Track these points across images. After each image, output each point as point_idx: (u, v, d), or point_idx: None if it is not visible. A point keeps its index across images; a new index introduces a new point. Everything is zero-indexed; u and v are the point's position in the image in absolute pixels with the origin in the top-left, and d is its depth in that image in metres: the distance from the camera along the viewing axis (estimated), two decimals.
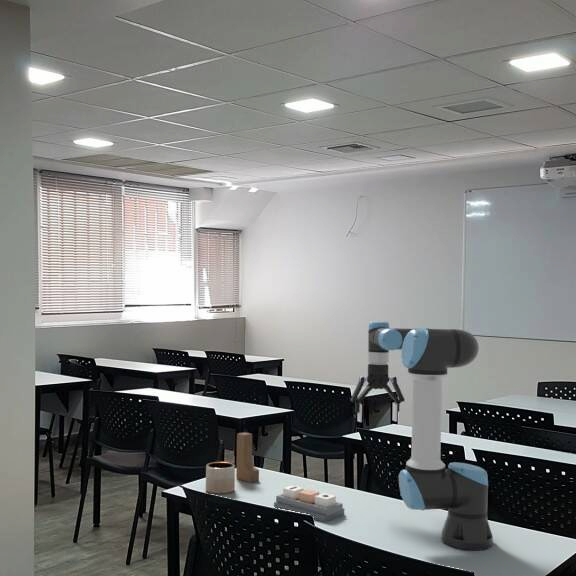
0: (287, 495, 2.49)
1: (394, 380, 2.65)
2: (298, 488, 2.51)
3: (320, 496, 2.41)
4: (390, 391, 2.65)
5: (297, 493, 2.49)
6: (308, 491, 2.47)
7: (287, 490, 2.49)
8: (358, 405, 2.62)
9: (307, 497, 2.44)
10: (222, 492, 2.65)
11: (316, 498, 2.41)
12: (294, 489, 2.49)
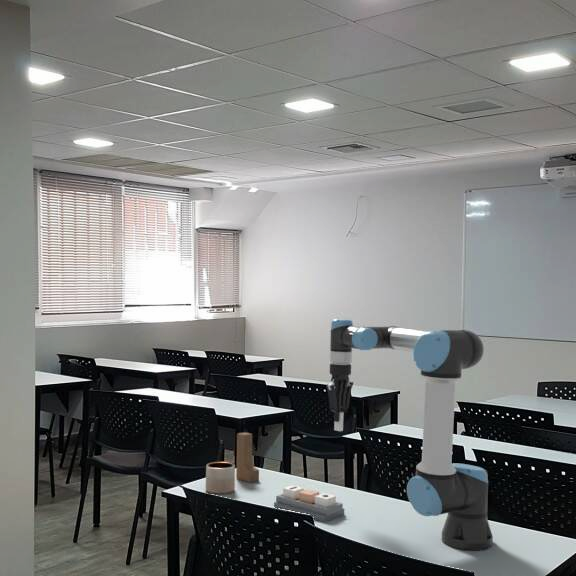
0: (287, 495, 2.49)
1: (351, 385, 2.55)
2: (298, 488, 2.51)
3: (320, 496, 2.41)
4: (344, 395, 2.52)
5: (297, 493, 2.49)
6: (308, 491, 2.47)
7: (287, 490, 2.49)
8: (338, 414, 2.51)
9: (307, 497, 2.44)
10: (222, 492, 2.65)
11: (316, 498, 2.41)
12: (294, 489, 2.49)
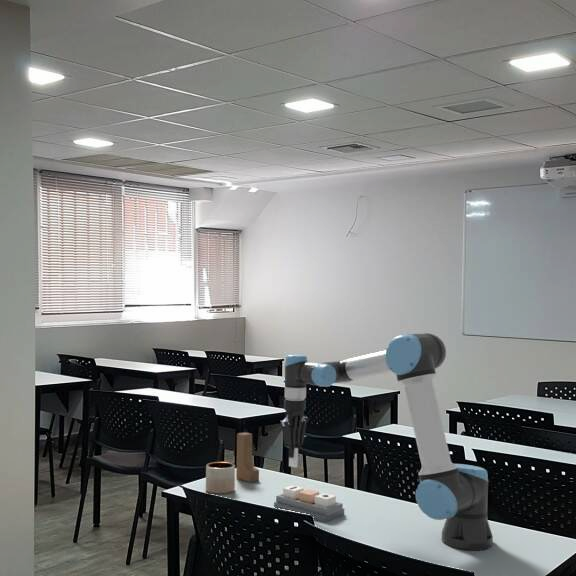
0: (287, 495, 2.49)
1: (306, 420, 2.54)
2: (298, 488, 2.51)
3: (320, 496, 2.41)
4: (299, 431, 2.51)
5: (297, 493, 2.49)
6: (308, 491, 2.47)
7: (287, 490, 2.49)
8: (293, 450, 2.50)
9: (307, 497, 2.44)
10: (222, 492, 2.65)
11: (316, 498, 2.41)
12: (294, 489, 2.49)
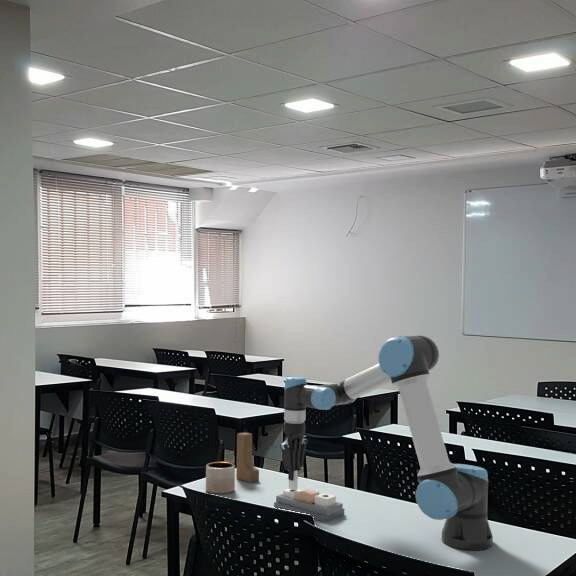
0: (287, 497, 2.49)
1: (305, 442, 2.54)
2: (298, 490, 2.51)
3: (320, 496, 2.41)
4: (298, 454, 2.51)
5: (297, 496, 2.49)
6: (308, 491, 2.47)
7: (287, 492, 2.49)
8: (292, 472, 2.50)
9: (307, 497, 2.44)
10: (222, 492, 2.65)
11: (316, 498, 2.41)
12: (294, 491, 2.49)
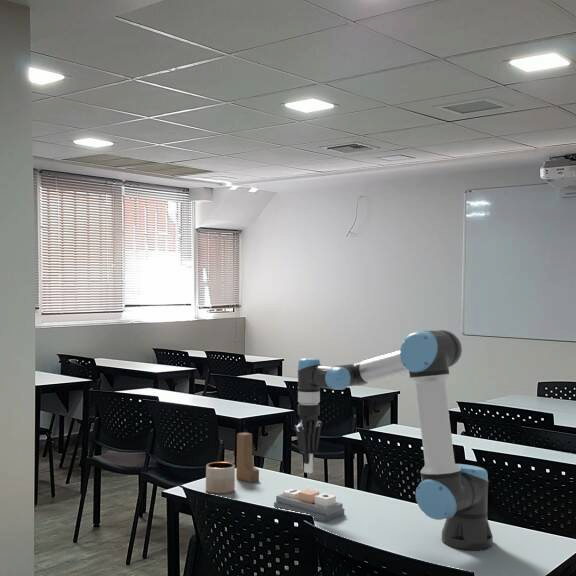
0: None
1: (320, 425, 2.50)
2: (298, 491, 2.51)
3: (320, 496, 2.41)
4: (313, 436, 2.47)
5: (297, 497, 2.49)
6: (308, 491, 2.47)
7: (287, 493, 2.49)
8: (308, 455, 2.46)
9: (307, 497, 2.44)
10: (222, 492, 2.65)
11: (316, 498, 2.41)
12: (294, 492, 2.49)
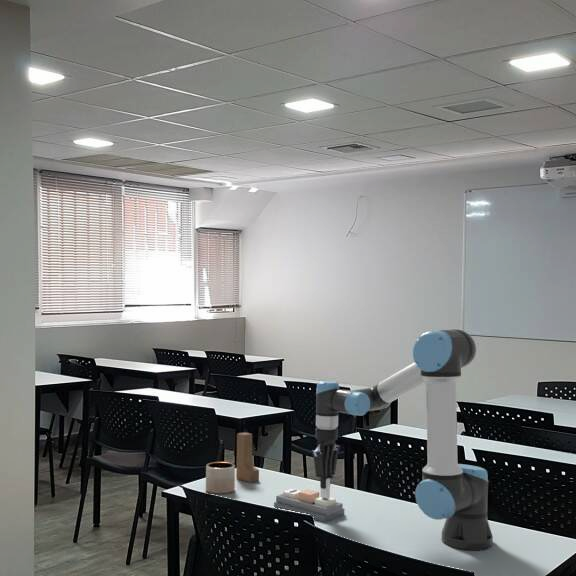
0: None
1: (337, 449, 2.45)
2: (298, 491, 2.51)
3: (320, 499, 2.41)
4: (331, 461, 2.42)
5: (297, 497, 2.49)
6: (308, 491, 2.47)
7: (287, 493, 2.49)
8: (325, 480, 2.41)
9: (307, 497, 2.44)
10: (222, 492, 2.65)
11: (316, 501, 2.41)
12: (294, 492, 2.49)
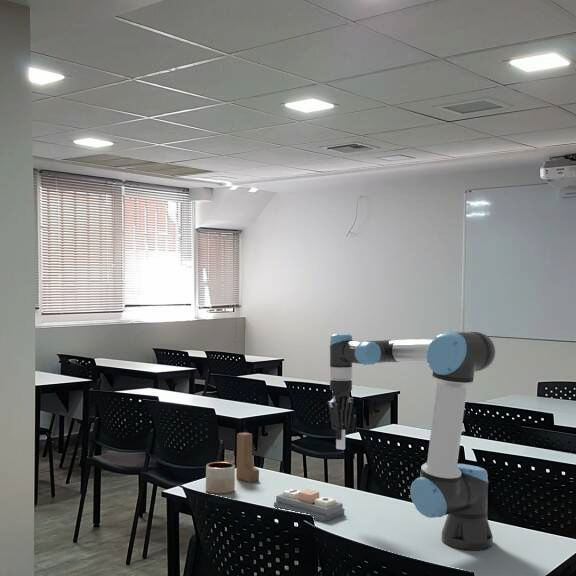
0: None
1: (351, 401, 2.48)
2: (298, 491, 2.51)
3: (320, 499, 2.41)
4: (345, 412, 2.45)
5: (297, 497, 2.49)
6: (308, 491, 2.47)
7: (287, 493, 2.49)
8: (340, 431, 2.44)
9: (307, 497, 2.44)
10: (222, 492, 2.65)
11: (316, 501, 2.41)
12: (294, 492, 2.49)
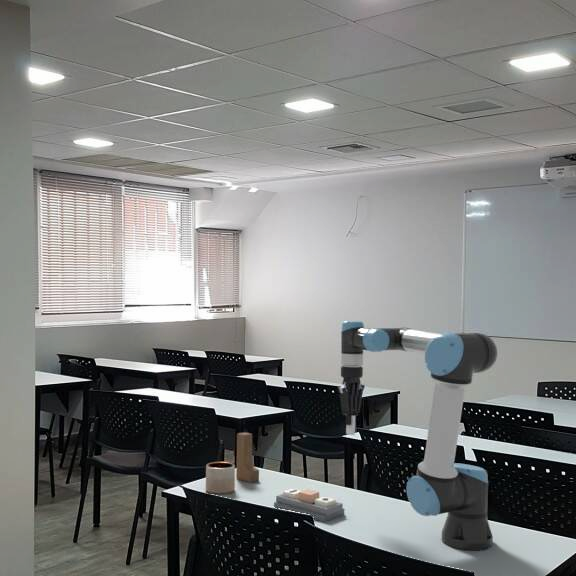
0: None
1: (362, 387, 2.51)
2: (298, 491, 2.51)
3: (320, 499, 2.41)
4: (356, 398, 2.48)
5: (297, 497, 2.49)
6: (308, 491, 2.47)
7: (287, 493, 2.49)
8: (350, 417, 2.47)
9: (307, 497, 2.44)
10: (222, 492, 2.65)
11: (316, 501, 2.41)
12: (294, 492, 2.49)
